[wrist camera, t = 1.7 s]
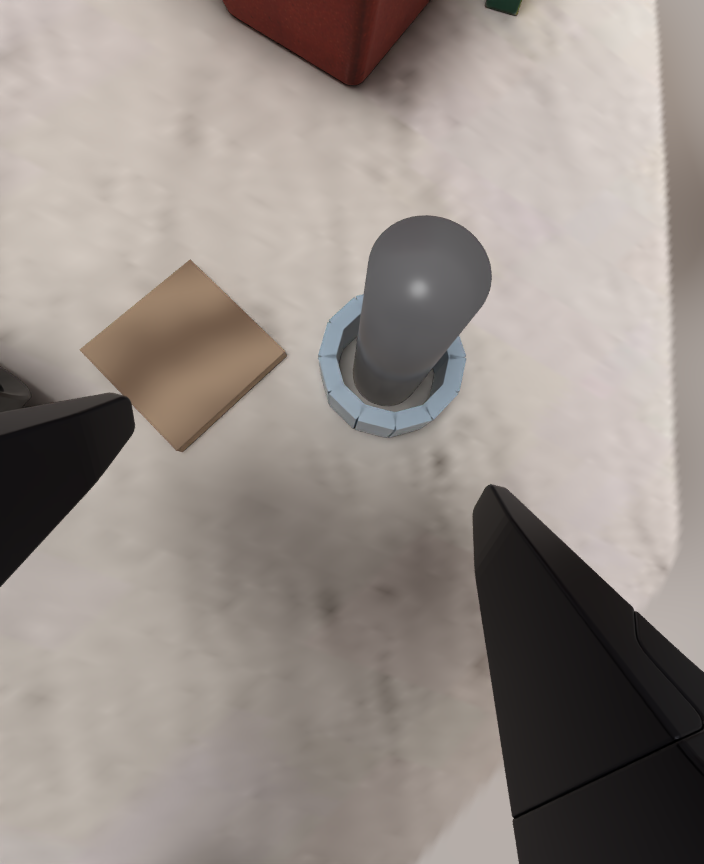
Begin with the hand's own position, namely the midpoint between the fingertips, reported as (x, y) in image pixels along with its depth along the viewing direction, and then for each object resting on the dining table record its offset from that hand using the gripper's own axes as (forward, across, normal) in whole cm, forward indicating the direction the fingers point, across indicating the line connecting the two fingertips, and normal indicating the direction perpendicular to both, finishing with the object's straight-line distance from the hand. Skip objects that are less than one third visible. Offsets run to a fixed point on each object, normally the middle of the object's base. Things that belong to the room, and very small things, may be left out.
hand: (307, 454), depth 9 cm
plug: (+15, -2, +3) cm, 15 cm away
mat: (+14, +10, +5) cm, 18 cm away
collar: (+15, -2, +3) cm, 15 cm away
